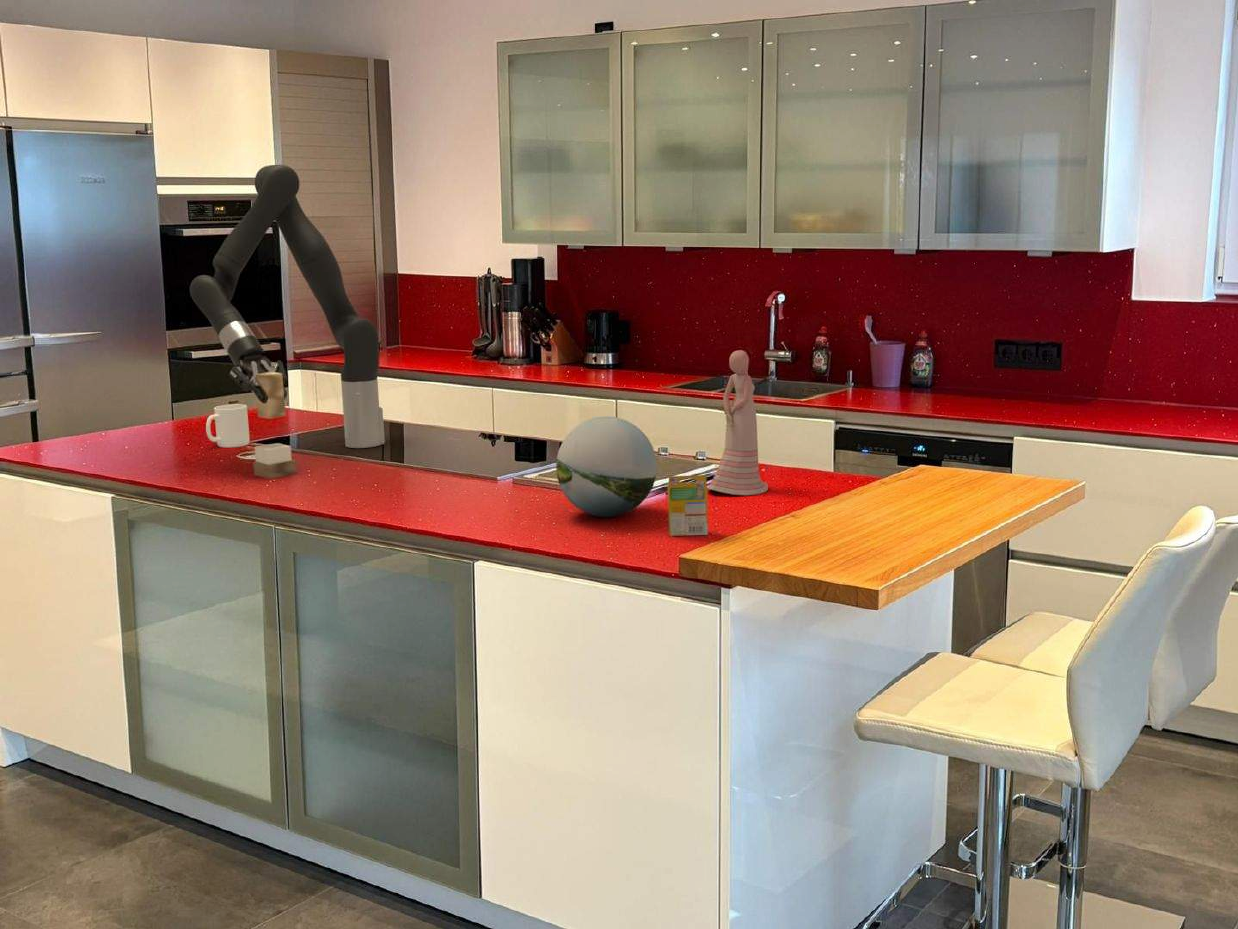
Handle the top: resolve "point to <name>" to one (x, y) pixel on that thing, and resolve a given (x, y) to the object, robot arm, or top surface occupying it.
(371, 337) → the robot arm
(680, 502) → the crayon box
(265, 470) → the slab base
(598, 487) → the decorative sphere
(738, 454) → the figurine
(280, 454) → the slab top
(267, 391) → the pillar
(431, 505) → the top surface
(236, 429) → the cup
